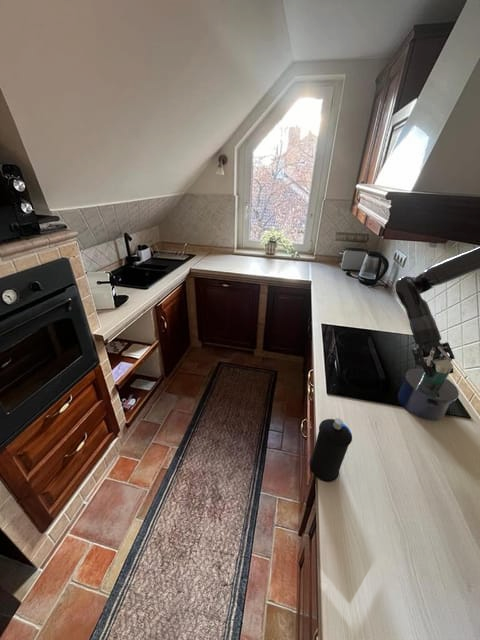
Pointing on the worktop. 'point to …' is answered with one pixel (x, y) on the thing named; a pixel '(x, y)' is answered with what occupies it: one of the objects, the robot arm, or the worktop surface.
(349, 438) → the aerosol can
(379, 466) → the worktop surface
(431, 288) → the robot arm
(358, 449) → the worktop surface
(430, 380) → the tin can
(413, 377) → the pot
